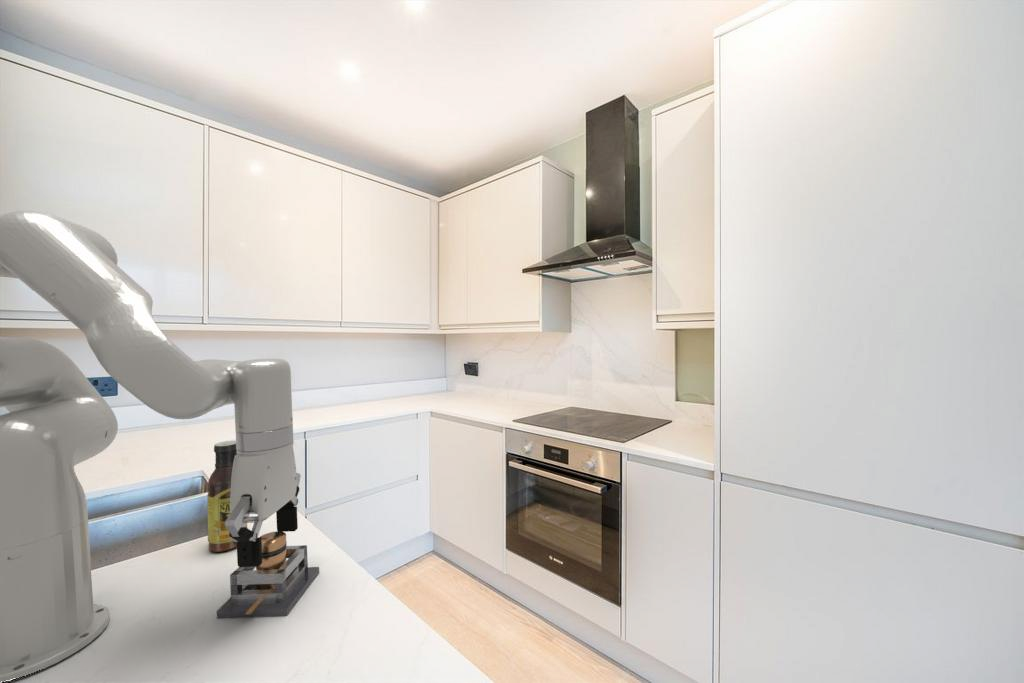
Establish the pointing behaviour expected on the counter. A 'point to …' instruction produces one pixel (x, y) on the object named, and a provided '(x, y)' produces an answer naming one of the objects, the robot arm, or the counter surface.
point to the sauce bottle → (220, 497)
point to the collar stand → (271, 601)
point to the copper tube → (272, 554)
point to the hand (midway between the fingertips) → (270, 546)
